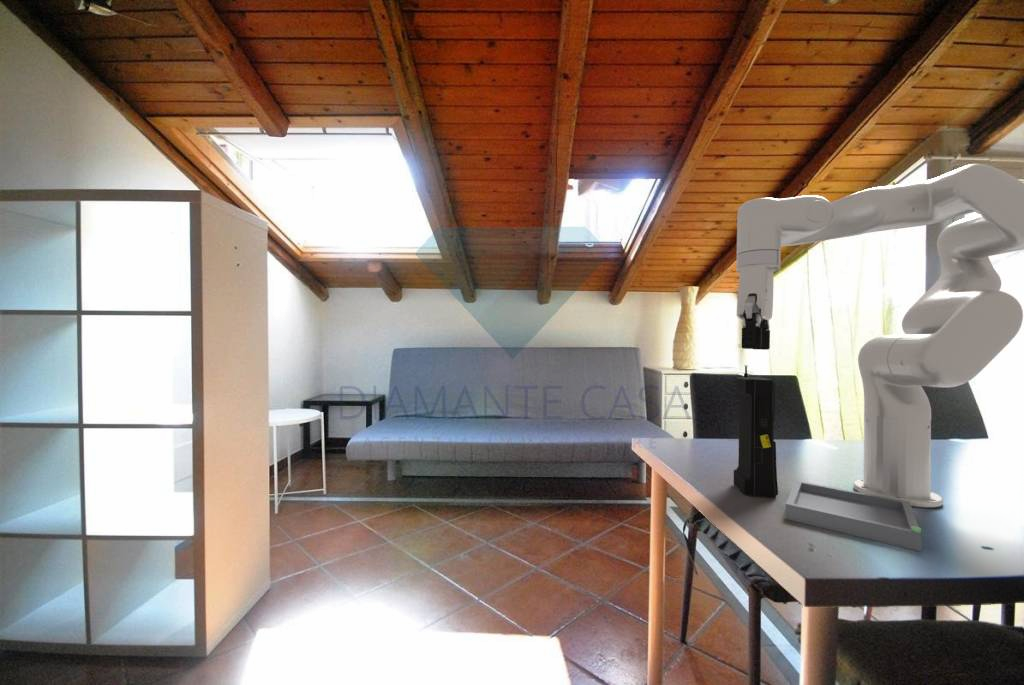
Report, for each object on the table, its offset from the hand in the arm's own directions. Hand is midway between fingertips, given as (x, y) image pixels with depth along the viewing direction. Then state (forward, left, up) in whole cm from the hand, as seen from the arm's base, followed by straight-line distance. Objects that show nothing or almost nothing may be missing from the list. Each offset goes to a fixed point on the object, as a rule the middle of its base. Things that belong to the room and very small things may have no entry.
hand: (756, 349), depth 80 cm
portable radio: (0, 0, -29) cm, 29 cm away
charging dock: (+3, +14, -28) cm, 32 cm away
